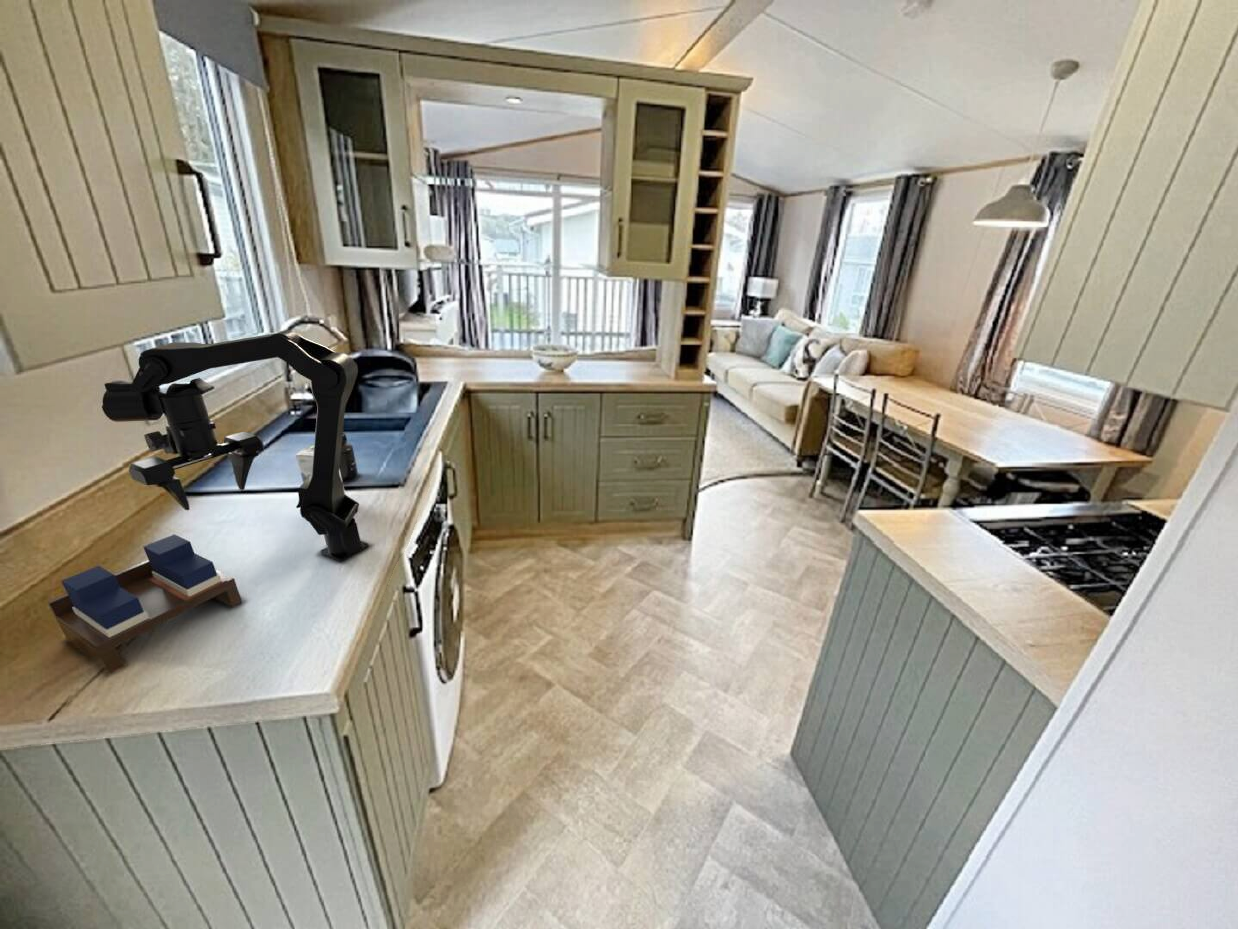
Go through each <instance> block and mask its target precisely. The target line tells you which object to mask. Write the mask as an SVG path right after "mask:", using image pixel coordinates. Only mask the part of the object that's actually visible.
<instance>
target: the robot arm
mask: <svg viewBox="0 0 1238 929" xmlns="http://www.w3.org/2000/svg"><path fill="white" fill-rule="evenodd" d="M275 358H276V359H277V358H278V359H280V360H282V361H284V362H285V363H286V364H287V365H289V366H290V367H291V368H292V369H293V370H294V371H295V372H296V373H297V374H299V375H300V376H302V377H304V378H305V379H307V380H309V381H310V388H311V393H312V396H313V398H314V401H315V403H316V408H317V410H316V420H315V421H316V422H315V433H314V445H313V446H314V458H313V470H312V475H310V476H309V477H308V478H307V479H306V480H305V481H304V483H303V482H302V484H301V485H300V486H298V490H297V495H298V502H297V505H296V506H295V508H296V509H299V513H300V516H301V518H303V519H304V520H306V522H308V523H309V524H310V526H312V528H313V530H315V532H316V533H317V535H318V536H324V541H325V544H326V547H324V548H323V549H321V550H320V554H321V555H324V556H326V557H328V558H330V559H333V560H336V561H338V562H343V561H346V560H347V559H350V558H351V557H353V556H355V555H357V554H359V553H360V552H362V551H364V550H365V549H367V548H369V547H370V545H369V544H370V543H368V542H365V541H362V540H361V536H360V532H359V528H358V523H357V522H356V519H355V516H356V514H357V513H358V511H359V508H360V507H359V506H360V503H359V502H358V501H356V500H355V499H353V498H352V497H350V496H349V495H347V494H346V493H345V494H346V495H345V494H344V490H345V486H344V483H342V480H341V478H340V476H339V466H340V456H341V446H342V435H343V433H344V424H345V414H346V413H345V412H346V406H347V403H348V400H349V398H350V397H351V393H352V391H353V389H354V387H355V386H354V385H355V383H356V379H357V377H358V373H359V368H358V364H357V362H355V360H354V359H353V357H351V356H350V355H348V354H346V353H343V352H336V351H335V350H332V349H331V348H329V347H327V346H325V345H322V344H320V343H318V342H316V341H312V340H310V339H308V338H305V337H304V336H302V335H301V334H299V333H297V332H295V331H292V330H290V329H283V330H280V331H278V332H274V333H269V334H263V335H257V336H256V335H255V336H250V337H245V338H238V339H232V340H227V341H220V342H213V343H200V342H195V341H194V342H190V341H189V342H186V341H185V342H183V341H182V342H181V341H179V342H178V341H177V342H176V341H175V342H174V341H173V342H169V343H165V344H162V345H159V346H155V347H151V348H149V349H145V350H143V351H141V352H140V354H139V358H138V366H139V368H138V370H137V372H136V373H135V376H134V378H133V380H131V381H127V380H126V381H125V380H111V381H108V382H106V383H104V384H103V385H104V387H105V392H104V393H103V395H102V405H101V409H102V412H103V413H104V415H105V416H106V417H107V418H108V419H109V420H110V421H112V422H116V423H123V422H126V423H127V422H128V423H129V422H149V421H152V422H153V421H158V420H160V419H161V418H162V416H163V415H164V417H165V420H166V423H167V424H166V425H165V430H166V433H165V434H162V432H160V431H159V430H156V431H153V432H152V431H151V432H148V433H145V434H144V435H143V437H144V440H145V443H146V445H147V447H148V450H149V451H150V452H152V453H154V452H157V451H161V450H163V452H164V453H165V454H166V455H168V454H172V455H174V456H175V455H178V456H176V457H172V458H169V459H163V458H161V457H158V456H152V457H149V458H145V459H142V460H141V459H140V460H138V461H134V462H131V463H130V465H129V467H128V472H129V475H130V477H131V480H133V481H136V482H138V483H141V484H143V485H145V486H154V487H157V488H162V489H163V490H165V491H166V492H168V494H169V495H170V496H171V497H172V498H173V500H175V501H176V502H177V503H178V505H179V506H181V508H183V509H184V510H185V511H190V503H189V501H188V500H189V499H188V497H187V494H186V492H185V489H184V487H183V485H182V482H181V480H180V478H179V477H176V476H175V475H176V470H179V469H181V468H185V467H188V466H192V465H194V464H198V463H202V462H205V461H207V460H208V461H209V460H211V459H214V458H217V457H221V456H223V455H226V456H227V457H228V459H229V461H230V462H231V467H232V470H233V475H234V479H235V483H236V485H237V487H238V489H239V490H240V491H244V490H245V488H246V484H247V480H248V477H249V473H250V470H251V467H252V464H253V463H254V460H255V458H256V457H258V456H259V455H260V454H259V452H261V451H264V450H265V444H264V441H263V439H262V438H261V437H260V436H259V435H256V434H254V433H250V432H246V431H241V432H236V433H233V434H230V435H226V436H224V438H223V440H222V441H223V443H218V441H217V437H216V434H215V431H214V430H216V429H217V427H216V423H215V422H213V421H211V419H210V415H209V412H208V410H207V406H206V402H205V400H204V397H203V395H205V394H206V393H209V392H211V391H213V390H215V386H214V385H213V384H211V383H209V382H207V381H204V380H203V379H202V378H201V377H196V378H193V379H191V380H190V381H189V382H178V381H181V380H184V379H185V378H189V377H191V376H194V375H197V374H200V373H202V372H204V371H207V370H212V369H217V368H223V367H229V366H234V365H235V366H236V365H241V364H247V363H253V362H259V361H264V360H271V359H275ZM169 384H170V385H169ZM164 385H169V386H168V387H161V386H164ZM343 486H344V487H343Z"/></svg>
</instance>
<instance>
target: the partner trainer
mask: <svg viewBox="0 0 1238 929" xmlns="http://www.w3.org/2000/svg"><path fill="white" fill-rule="evenodd" d="M114 574H115V573H112V572H110V571H108V570H107V569H105V568H104V567H102V566H100V565H97V566H95V567H92V568H88V569H86V570H84V571H82V572H79V573H77V574H74V575H72V576H70V577H66V578H64V579H62V580H61V581H60V582H61V585H62V586H63V588H64V590H65V592H66V594H68V596H69V598H70V600H71V602H72V604H73V605H74V607H72V608H73V610H74V612H75V614H76V615H78V616H79V617H81V618H82V619H83V620H85V621H86V622H88V623H89V624H90V625H92V626H93V627H95V628H96V629H98V630H99V631H100V632H102V633H103V634H105V635H106V636H107V637H109V638H110V637H112V636H114V635H116V634H118V633H120V632H122V631H124V630H126V629H128V628H130V627H132V626H134V625H136V624H138V623H140V622H142V621H144V620H146V619H148V618H149V616H148V614H147V612H146V611H144V610H143V609H142V606H141V604H140V602H139V600H138V598H137V597H135V596H134V595H132V594H131V593H129V592H127V591H126V590H124V589H122V588H121V587H120V586H119V584H118V582H117V580H116V577H115V575H114Z"/></svg>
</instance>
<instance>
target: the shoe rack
mask: <svg viewBox="0 0 1238 929" xmlns="http://www.w3.org/2000/svg"><path fill="white" fill-rule="evenodd" d="M215 570H216V573H217V574H218V575H220V577H221V580H222V581H221V582H219V583H217V584H215V585H212V586H210V587H208V588H206V589H204V590H202V591H200V592H198V593H196V594H194V595H192V596H190V597H188V596H187V595H185V594H183V593H181V592H179V591H178V590H176V589H174V588H172V587H170V586H169V585H167V584H165V583H163V582H161V581H160V580H158V579H156V578H154V576H153V574H152V571H153V569H152V567H151V564H150V562H149V560H148V559H147V560H145V561H142V562H139V563H137V564H136V565H133V566H132V565H131V566H130V567H128V568H125V569H123V570H121V571H118V572H116V573H113V574H114V575H115V577H116V580H117V582H118V584H119V586H120V587H121V588H122V589H124V590H126V591H127V592H129V593H131V594H132V595H134V596H135V597H137V598H138V600H139V602H140V604H141V606H142V609H143V610H144V611H146V612H147V614H148V616H149V618H148V619H146V620H144V621H142V622H140V623H138V624H136V625H134V626H132V627H130V628H128V629H126V630H124V631H122V632H120V633H118V634H116V635H114V636H112V637H110V638H109V637H107V636H106V635H105V634H103V633H102V632H100V631H99V630H98V629H96V628H95V627H93V626H92V625H90V624H89V623H88V622H86V621H85V620H83V619H82V618H81V617H79V616H78V615H76V614H75V612H74V610H73V608H72V607H74V605H73V604H72V602H71V600H70V598H69V596H68V594H67V593H65V594H63V595H60V596H58V597H56V598H53V599H51V600H49V601H46V603H47V604H48V607H49V608H50V610H51V612H52V614H53V615H54V617H55V620H56V622H57V623H58V625H59V627H60V629H61V631H62V632H63V635H64V636H65V639H66V640H67V642H69V643H70V644H71V645H73V646H74V647H75V648H77V649H78V650H79V651H81V652H82V653H83V654H84V655H86V656H87V657H88V658H90V659H91V660H92V661H93V662H95V663H96V664H97V665H99V666H100V667H101V668H103V669H104V670H105V671H107V672H108V673H109V674H111V673H113V672H115V671H117V670H120V669H121V668H123V667H124V663H123V662H122V660H121V659H122V658H121V657H120V655H119V653H118V651H117V649H116V647H118V646H120V645H122V644H124V643H126V642H128V641H130V640H132V639H134V638H136V637H138V636H140V635H142V634H143V633H146V632H148V631H149V630H151V629H153V628H156V627H158V626H159V625H161V624H163V623H165V622H167V621H170V620H171V619H173V618H175V617H177V616H179V615H181V614H184V613H185V612H188V611H189V610H191V609H193V608H195V607H197V606H199V605H201V604H203V603H205V602H207V601H209V600H211V599H216V600H217V601H219V602H221V603H223V604H225V605H227V606H229V607H230V608H234V607H236V606H238V605H240V604H242V603H243V600H242V597H241V594H240V592H239V589H238V586H237V583H236V580H235V578H234V577H233V576H230V575H228V574H226V573H224V572H222V571H220V570H218V569H216V568H215Z"/></svg>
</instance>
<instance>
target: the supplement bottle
mask: <svg viewBox="0 0 1238 929" xmlns="http://www.w3.org/2000/svg"><path fill="white" fill-rule="evenodd" d="M339 469H340V473H341V478H342V482H343V484H347V483H351V482H353V481H355V480H357V479H358V478H359V471H358V464H357V460H356V456H355V450H354V447H353V444H351V443H350V442H348V438H347V435H346V433H345V432H343V435H342V446H341V456H340V466H339Z"/></svg>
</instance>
